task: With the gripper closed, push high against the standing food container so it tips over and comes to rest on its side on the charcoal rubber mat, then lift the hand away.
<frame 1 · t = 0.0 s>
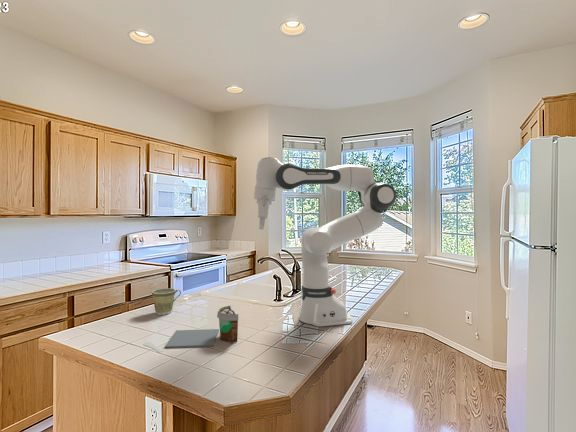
hand: (261, 228, 138), 39 cm above the counter, tool pointing down, fingers open, 8 cm apart
ceramic cup: (167, 312, 150), on the counter
food container: (225, 338, 119), on the counter
mat: (193, 338, 118), on the counter
butter knife: (162, 354, 107), on the counter
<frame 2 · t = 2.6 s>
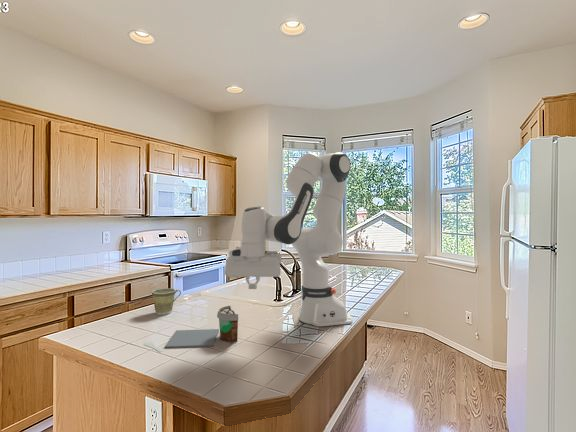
hand: (252, 288, 120), 18 cm above the counter, tool pointing down, fingers closed
nothing on the counter moved.
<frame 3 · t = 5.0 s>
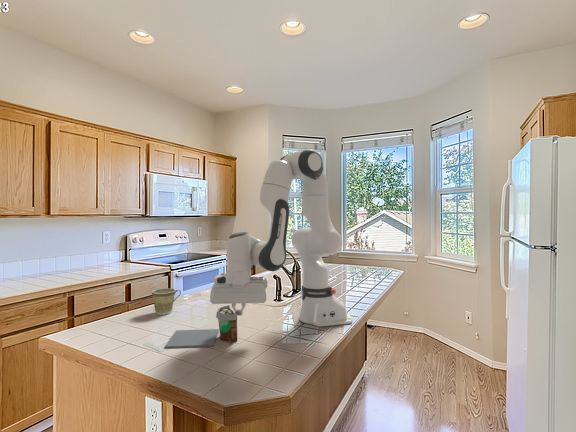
hand: (238, 315, 119), 8 cm above the counter, tool pointing down, fingers closed
food container: (225, 338, 119), on the counter, touching gripper
everything else where it was.
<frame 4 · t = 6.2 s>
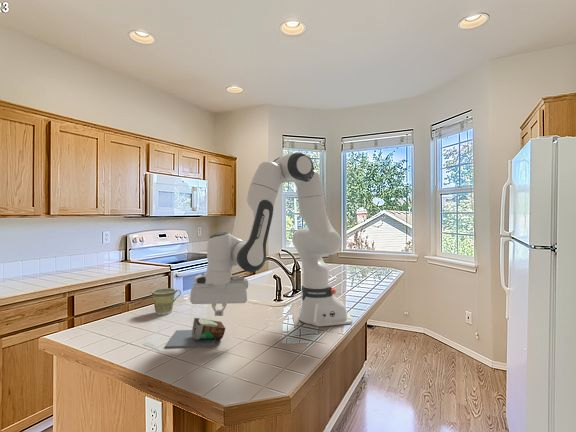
hand: (219, 315, 119), 8 cm above the counter, tool pointing down, fingers closed
food container: (222, 333, 119), point 2 cm above the counter, touching mat
everything else where it was.
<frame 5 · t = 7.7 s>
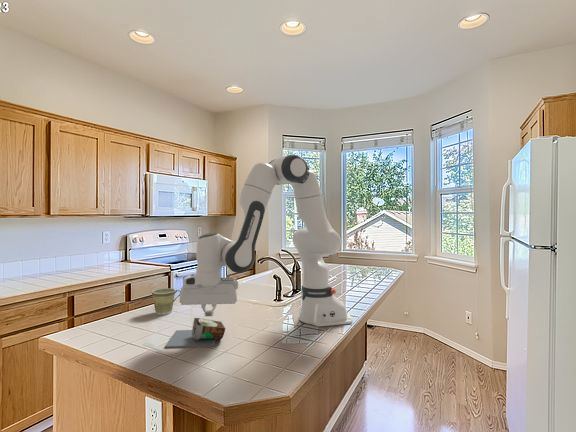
hand: (209, 316, 119), 8 cm above the counter, tool pointing down, fingers closed
nothing on the counter moved.
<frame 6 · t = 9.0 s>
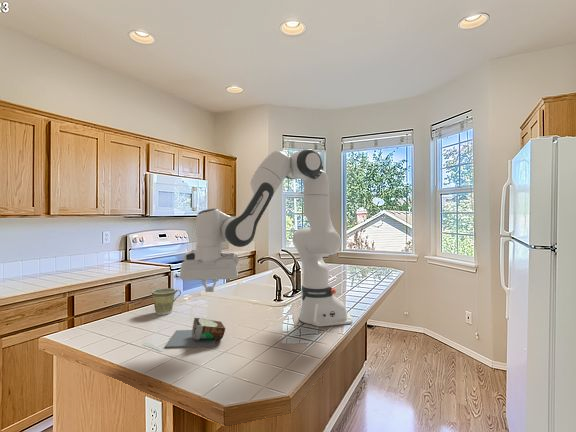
hand: (209, 291, 119), 17 cm above the counter, tool pointing down, fingers closed
nothing on the counter moved.
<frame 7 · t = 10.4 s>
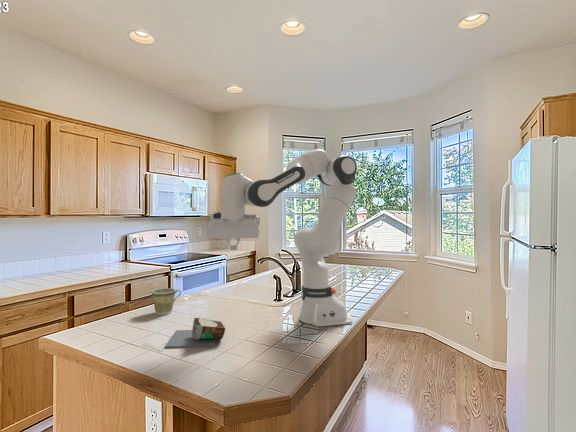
hand: (233, 249, 129), 31 cm above the counter, tool pointing down, fingers closed
nothing on the counter moved.
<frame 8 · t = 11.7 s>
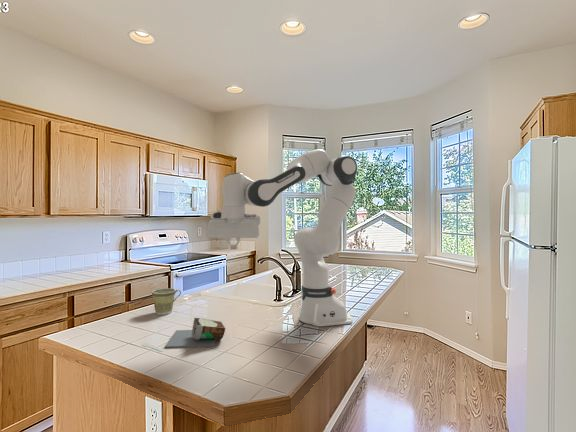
hand: (233, 249, 129), 31 cm above the counter, tool pointing down, fingers closed
at the end: food container tilted 77°; food container inside the target area (5.7 cm from its centre), point 1.8 cm above the counter; food container touching mat, counter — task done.
